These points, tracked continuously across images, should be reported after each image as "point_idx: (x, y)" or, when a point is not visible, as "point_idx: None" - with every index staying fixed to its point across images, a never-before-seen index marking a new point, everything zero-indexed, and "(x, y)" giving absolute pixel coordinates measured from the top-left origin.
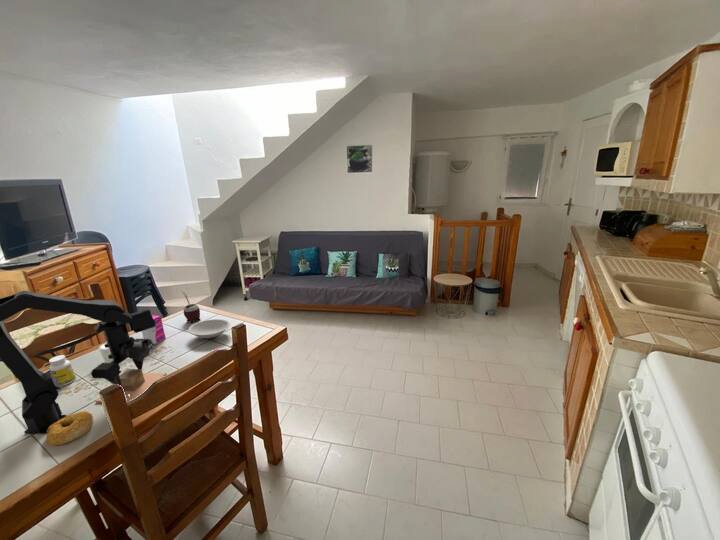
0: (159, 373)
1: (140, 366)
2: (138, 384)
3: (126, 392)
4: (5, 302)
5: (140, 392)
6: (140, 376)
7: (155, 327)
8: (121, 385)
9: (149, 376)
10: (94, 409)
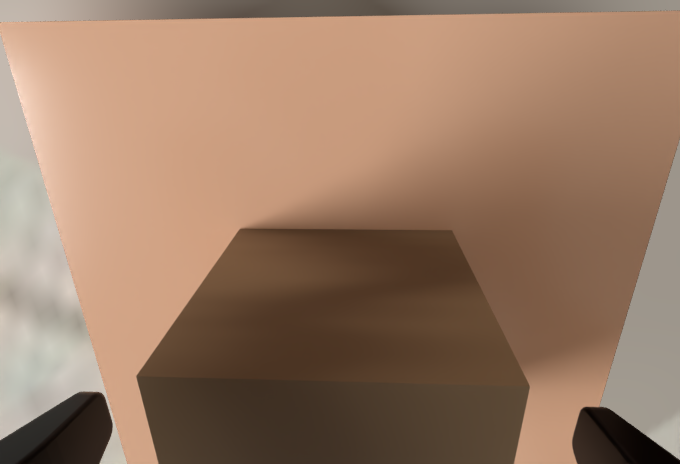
0: (40, 131)
1: (48, 454)
2: (355, 246)
3: None
4: None
5: (493, 116)
6: (261, 294)
7: None
8: (607, 428)
9: (136, 236)
10: (661, 443)
